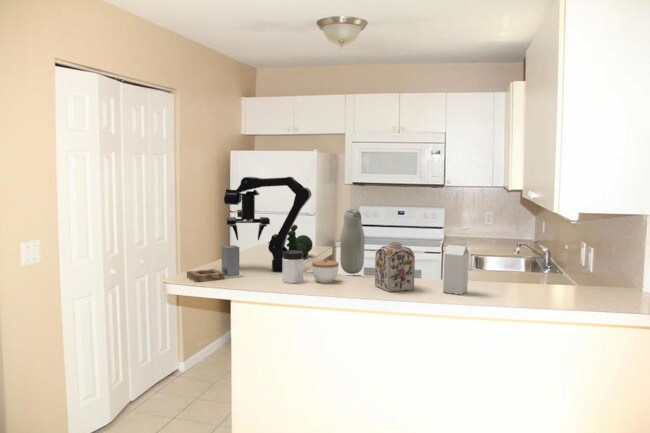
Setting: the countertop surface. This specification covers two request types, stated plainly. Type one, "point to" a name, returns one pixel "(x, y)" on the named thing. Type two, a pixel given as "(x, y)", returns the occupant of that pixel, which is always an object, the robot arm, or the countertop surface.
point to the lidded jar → (325, 270)
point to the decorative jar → (394, 268)
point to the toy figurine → (299, 242)
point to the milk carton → (456, 268)
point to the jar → (292, 266)
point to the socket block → (205, 275)
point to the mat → (233, 276)
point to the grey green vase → (352, 243)
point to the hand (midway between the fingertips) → (247, 240)
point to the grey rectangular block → (230, 260)
